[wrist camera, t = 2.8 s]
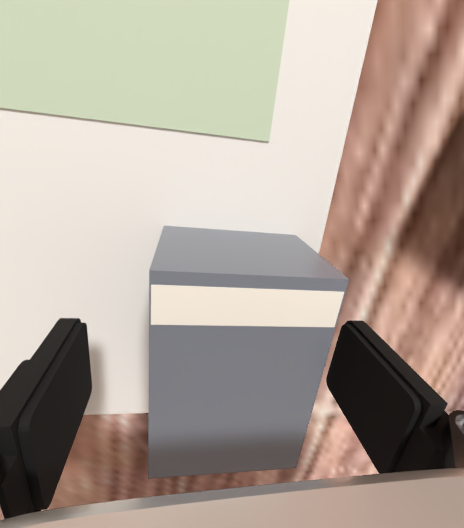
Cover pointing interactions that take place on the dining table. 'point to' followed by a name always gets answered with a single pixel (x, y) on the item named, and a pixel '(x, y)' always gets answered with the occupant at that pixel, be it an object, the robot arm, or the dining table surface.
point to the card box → (235, 348)
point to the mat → (156, 152)
